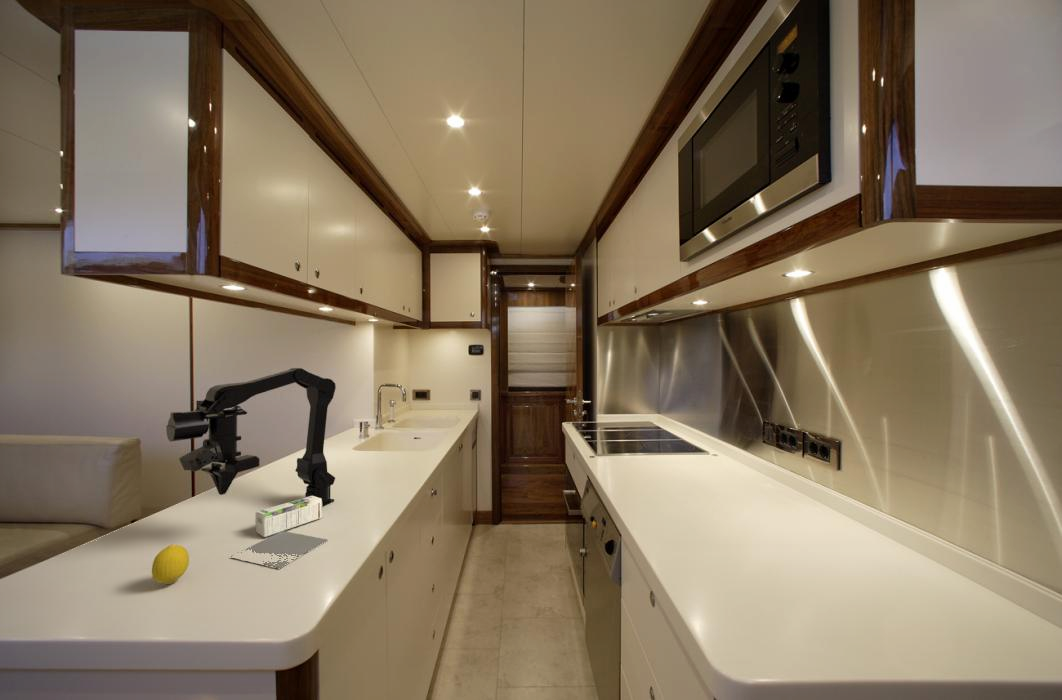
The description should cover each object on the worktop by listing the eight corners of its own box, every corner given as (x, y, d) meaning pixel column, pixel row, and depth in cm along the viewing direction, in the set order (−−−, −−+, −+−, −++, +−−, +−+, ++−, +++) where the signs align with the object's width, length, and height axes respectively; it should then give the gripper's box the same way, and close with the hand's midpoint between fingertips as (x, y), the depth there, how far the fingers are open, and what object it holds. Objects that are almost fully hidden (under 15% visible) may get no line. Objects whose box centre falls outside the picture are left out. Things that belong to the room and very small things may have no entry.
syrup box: (255, 511, 98) (313, 493, 110) (255, 533, 98) (313, 514, 110) (263, 515, 95) (322, 497, 107) (264, 538, 95) (323, 517, 107)
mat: (282, 532, 99) (282, 530, 99) (327, 541, 94) (327, 539, 94) (230, 558, 86) (230, 556, 86) (279, 569, 82) (279, 567, 82)
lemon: (146, 595, 73) (146, 554, 73) (158, 580, 78) (158, 541, 78) (183, 587, 75) (183, 548, 76) (192, 573, 80) (193, 536, 80)
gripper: (160, 438, 91) (159, 501, 91) (213, 444, 86) (212, 511, 86) (211, 429, 102) (210, 486, 102) (261, 434, 97) (260, 494, 96)
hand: (222, 494), depth 96 cm, fingers closed
